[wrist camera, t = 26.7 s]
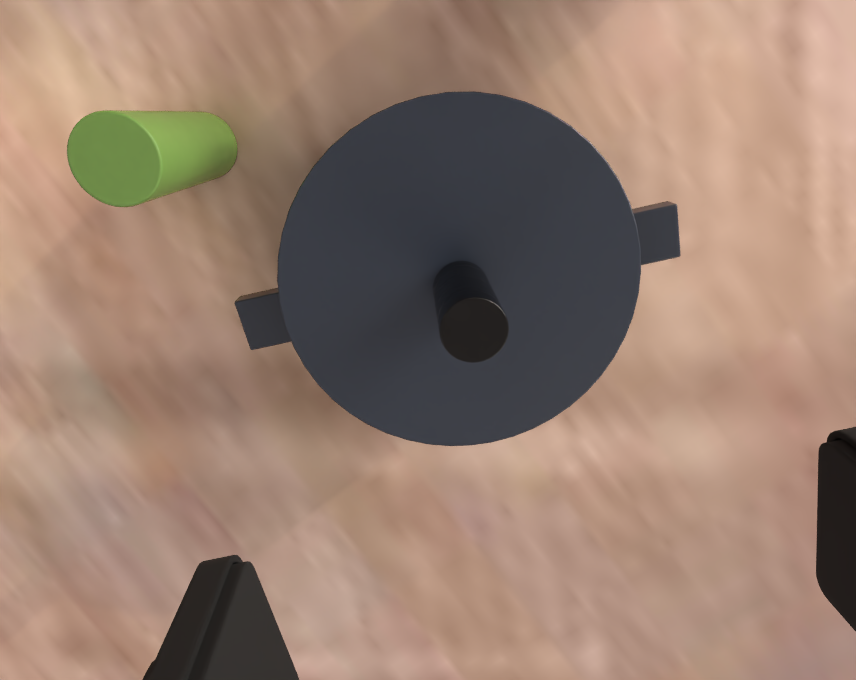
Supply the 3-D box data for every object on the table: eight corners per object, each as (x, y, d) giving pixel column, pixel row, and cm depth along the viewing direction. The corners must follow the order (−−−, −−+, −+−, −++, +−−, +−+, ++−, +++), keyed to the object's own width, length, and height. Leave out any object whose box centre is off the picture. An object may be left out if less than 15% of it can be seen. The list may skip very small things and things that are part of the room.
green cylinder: (162, 119, 29) (50, 122, 20) (225, 105, 29) (141, 100, 20) (185, 185, 31) (88, 216, 21) (246, 171, 30) (175, 196, 21)
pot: (225, 155, 30) (179, 165, 24) (619, 63, 29) (674, 50, 23) (307, 408, 35) (286, 469, 29) (644, 336, 34) (695, 384, 28)
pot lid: (233, 140, 24) (174, 149, 18) (613, 51, 24) (686, 29, 18) (335, 463, 30) (317, 554, 24) (646, 398, 29) (711, 474, 23)
